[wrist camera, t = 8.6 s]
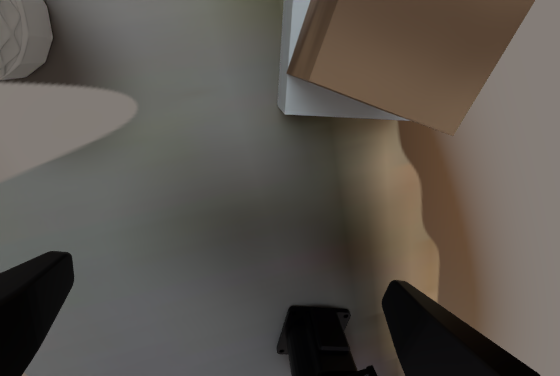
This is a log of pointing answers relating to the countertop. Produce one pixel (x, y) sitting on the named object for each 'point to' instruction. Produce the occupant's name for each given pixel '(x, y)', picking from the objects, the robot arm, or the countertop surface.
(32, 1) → the white cup
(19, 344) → the robot arm
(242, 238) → the countertop surface
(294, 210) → the countertop surface
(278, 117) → the countertop surface
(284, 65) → the riser block
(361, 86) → the walnut cube
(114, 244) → the countertop surface
